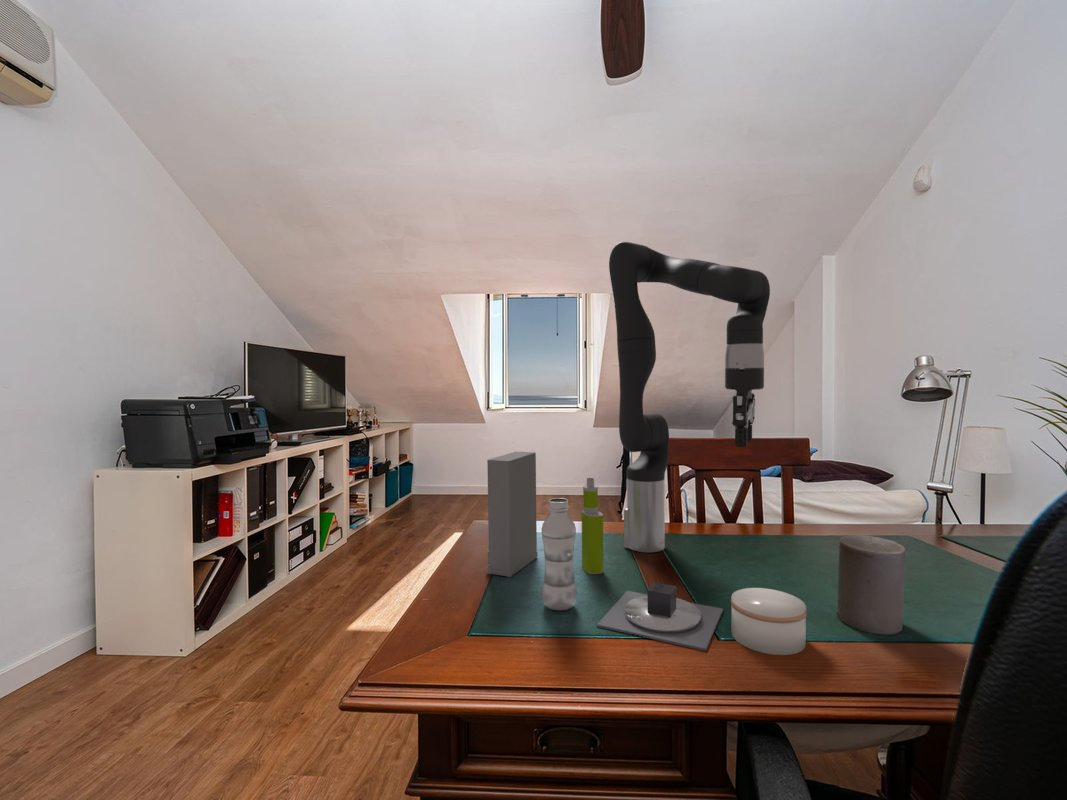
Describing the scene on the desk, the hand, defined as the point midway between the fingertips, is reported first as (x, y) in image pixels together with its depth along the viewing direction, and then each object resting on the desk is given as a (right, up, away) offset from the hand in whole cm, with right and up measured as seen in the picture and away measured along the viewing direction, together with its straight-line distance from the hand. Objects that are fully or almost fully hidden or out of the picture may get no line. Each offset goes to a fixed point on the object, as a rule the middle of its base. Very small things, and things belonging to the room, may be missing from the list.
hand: (743, 444), depth 112 cm
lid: (-21, -29, -18) cm, 40 cm away
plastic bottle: (-39, -29, -13) cm, 50 cm away
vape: (-31, -28, +7) cm, 42 cm away
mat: (-21, -29, -18) cm, 40 cm away
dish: (-6, -29, -25) cm, 39 cm away
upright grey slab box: (-49, -29, +10) cm, 57 cm away
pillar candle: (+14, -29, -20) cm, 38 cm away
